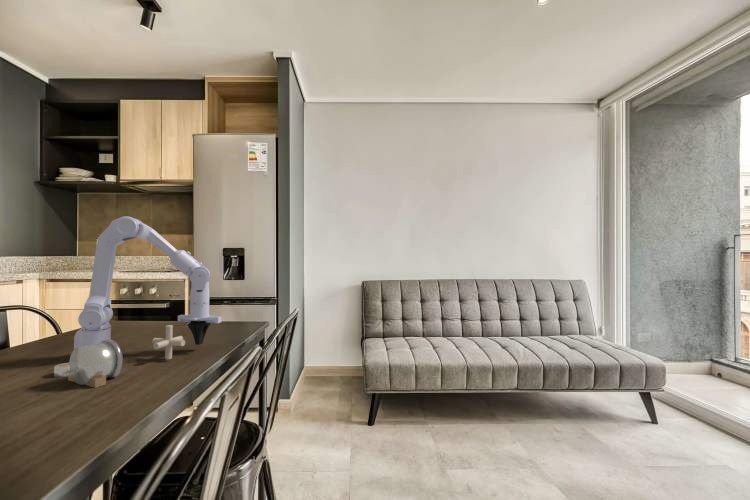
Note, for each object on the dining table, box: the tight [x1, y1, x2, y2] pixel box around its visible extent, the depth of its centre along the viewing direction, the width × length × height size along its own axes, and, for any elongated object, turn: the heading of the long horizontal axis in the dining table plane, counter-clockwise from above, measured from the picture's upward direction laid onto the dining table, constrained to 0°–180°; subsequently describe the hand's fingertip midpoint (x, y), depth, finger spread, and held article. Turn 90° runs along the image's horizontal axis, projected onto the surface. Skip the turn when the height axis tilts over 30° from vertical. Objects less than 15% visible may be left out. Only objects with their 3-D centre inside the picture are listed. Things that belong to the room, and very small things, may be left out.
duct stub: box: [67, 339, 124, 388], centre depth 92 cm, size 11×7×10 cm, turn 67°
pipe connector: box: [151, 324, 186, 361], centre depth 111 cm, size 10×10×10 cm
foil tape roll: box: [53, 362, 70, 378], centre depth 96 cm, size 5×5×2 cm
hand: (199, 343), depth 121 cm, fingers closed
